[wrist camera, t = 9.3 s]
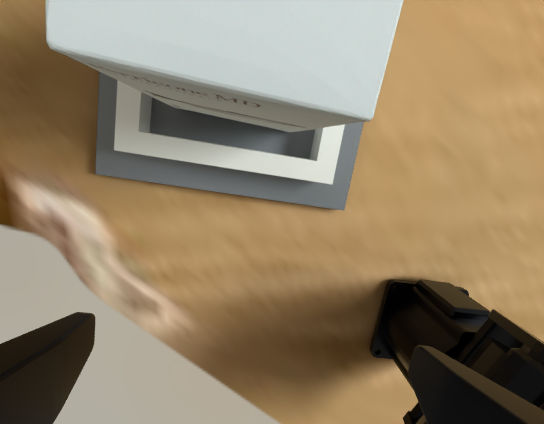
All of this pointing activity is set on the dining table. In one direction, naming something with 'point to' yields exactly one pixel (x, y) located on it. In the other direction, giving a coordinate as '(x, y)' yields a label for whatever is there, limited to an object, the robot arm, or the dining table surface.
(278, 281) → the dining table surface
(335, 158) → the dock
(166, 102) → the supplement box
